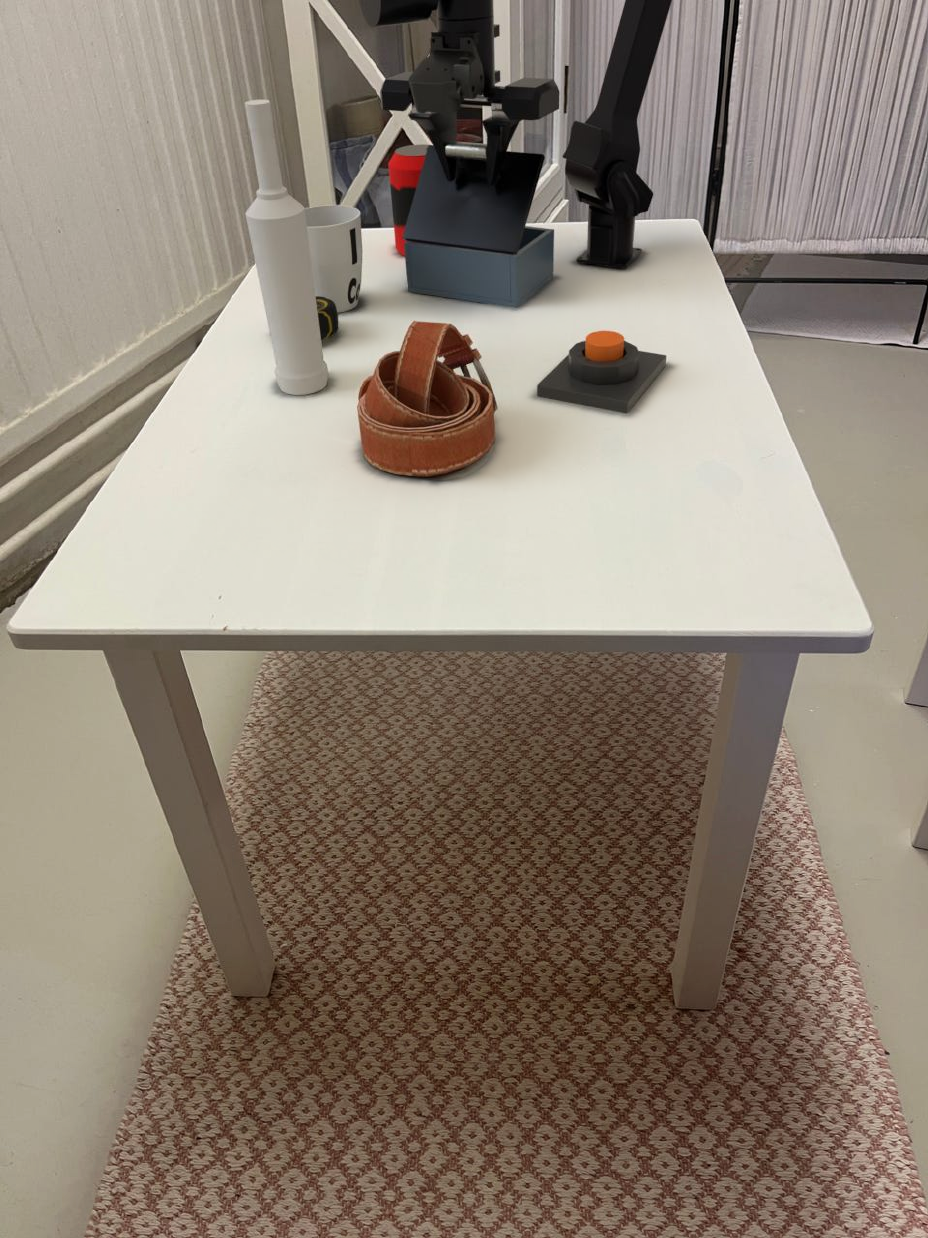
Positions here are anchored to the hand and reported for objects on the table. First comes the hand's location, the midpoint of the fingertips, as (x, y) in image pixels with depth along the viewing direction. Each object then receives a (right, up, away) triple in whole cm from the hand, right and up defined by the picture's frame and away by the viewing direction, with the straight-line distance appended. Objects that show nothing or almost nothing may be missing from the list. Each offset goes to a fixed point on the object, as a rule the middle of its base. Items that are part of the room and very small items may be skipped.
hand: (471, 182), depth 103 cm
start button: (+13, -23, -15) cm, 30 cm away
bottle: (-17, -25, -10) cm, 32 cm away
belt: (-4, -33, -20) cm, 39 cm away
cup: (-16, -12, +6) cm, 21 cm away
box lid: (0, -1, +1) cm, 2 cm away
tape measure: (-18, -18, -1) cm, 25 cm away
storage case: (+1, -8, +9) cm, 12 cm away
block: (+13, -25, -13) cm, 31 cm away
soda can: (-6, 0, +20) cm, 21 cm away
